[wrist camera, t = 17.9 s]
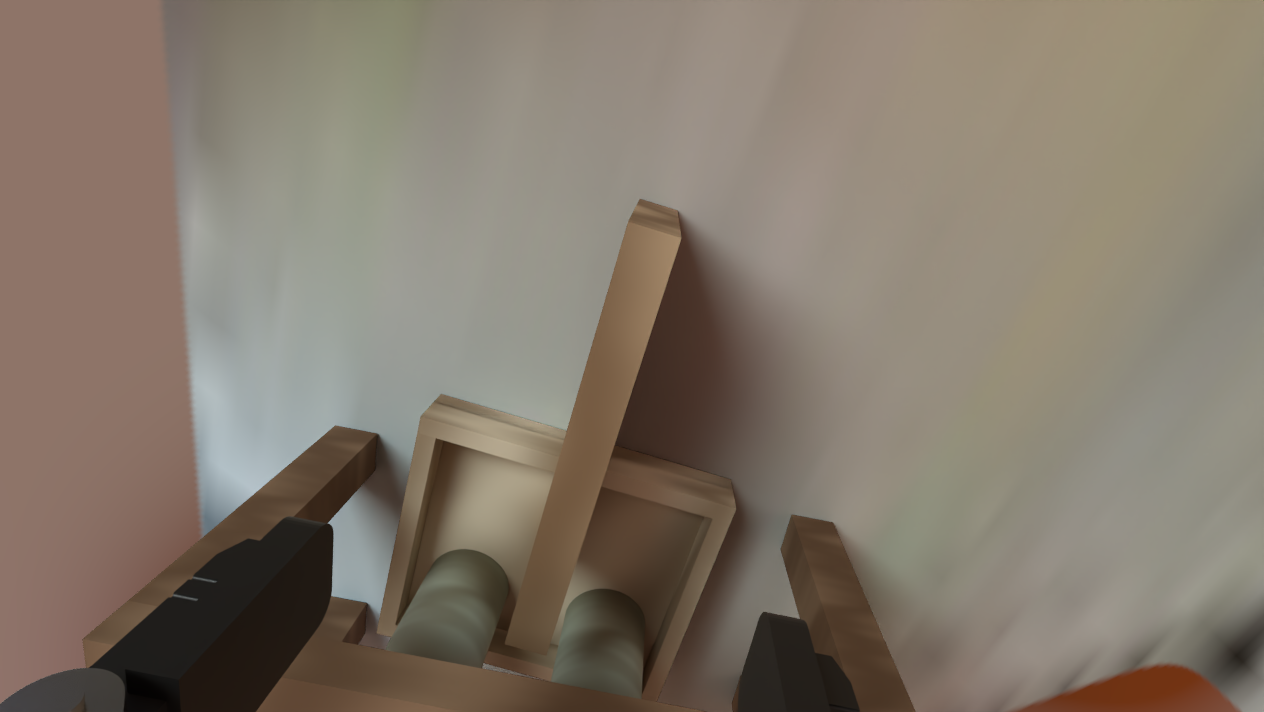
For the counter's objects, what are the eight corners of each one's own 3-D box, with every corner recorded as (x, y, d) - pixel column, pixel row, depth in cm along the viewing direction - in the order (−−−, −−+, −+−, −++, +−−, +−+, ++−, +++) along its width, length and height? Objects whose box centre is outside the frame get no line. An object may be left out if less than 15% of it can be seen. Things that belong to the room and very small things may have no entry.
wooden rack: (832, 522, 30) (956, 806, 17) (768, 710, 34) (829, 1057, 21) (335, 425, 30) (82, 639, 17) (328, 626, 33) (118, 923, 21)
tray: (820, 255, 26) (884, 301, 18) (654, 669, 33) (650, 824, 26) (492, 152, 25) (417, 156, 18) (397, 597, 33) (315, 734, 25)
